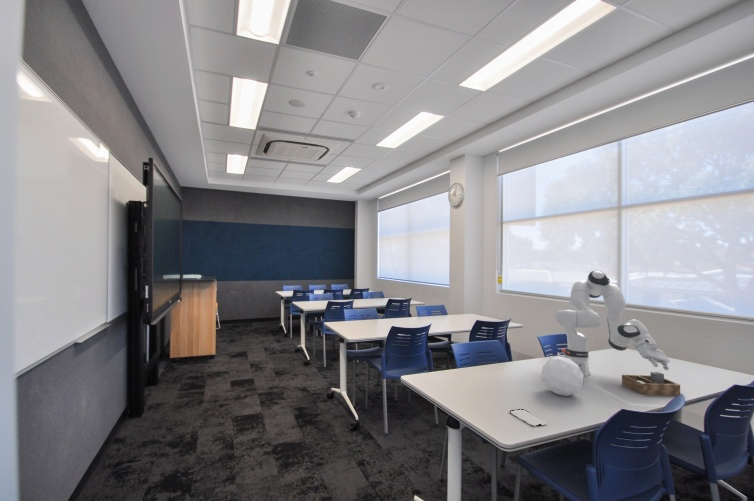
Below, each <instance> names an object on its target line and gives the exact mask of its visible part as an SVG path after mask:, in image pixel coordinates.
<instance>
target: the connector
mask: <svg viewBox="0 0 754 501" xmlns="http://www.w3.org/2000/svg"><path fill="white" fill-rule="evenodd" d="M650 375H651V381H653V382H655V383H657V384H664V378H665V374H664V373H662V372H659V371H651V372H650Z"/></svg>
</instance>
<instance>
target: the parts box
mask: <svg viewBox="0 0 754 501" xmlns="http://www.w3.org/2000/svg"><path fill="white" fill-rule="evenodd" d="M638 381H642V382H645V383H641V382H638ZM621 385H623V386H624V387H626V388H628V389H631V390H632V391H634V392H637V393H638V394H640V395H641V396H642V395H644V396H645V395H646V396H647V395H648V396H649V395H652V396H654V395H655V396H680V395H681V384H680V383H677V382H675V381H671V380H669V379H667V378H665V377H664V384H657V383H655V382H653V381H651V374H649V375H647V374H643V375H641V374H640V375H639V374H622V375H621ZM679 394H680V395H679Z"/></svg>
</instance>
